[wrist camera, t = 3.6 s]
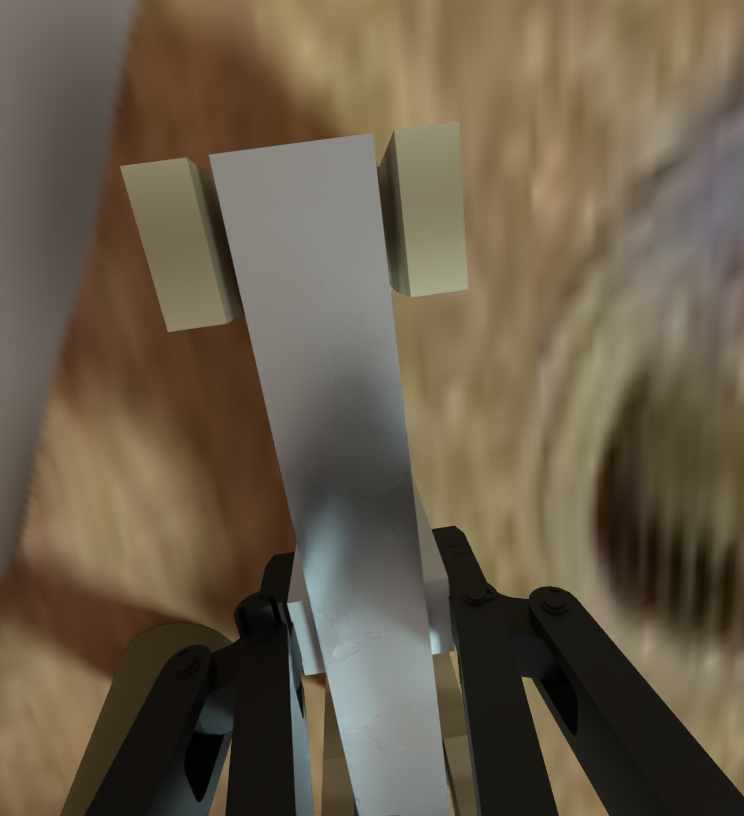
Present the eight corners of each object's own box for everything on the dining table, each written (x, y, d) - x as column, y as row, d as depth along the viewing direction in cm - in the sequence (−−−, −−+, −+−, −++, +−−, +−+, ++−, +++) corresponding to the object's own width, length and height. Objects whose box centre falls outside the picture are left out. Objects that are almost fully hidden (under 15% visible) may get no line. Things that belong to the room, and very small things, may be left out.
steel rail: (439, 787, 18) (458, 883, 15) (371, 799, 18) (377, 897, 15) (363, 168, 11) (372, 133, 8) (243, 185, 10) (208, 154, 8)
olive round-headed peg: (100, 641, 21) (-143, 1019, 10) (218, 609, 21) (94, 959, 10) (152, 723, 23) (-8, 1111, 12) (260, 694, 23) (192, 1061, 12)
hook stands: (447, 676, 23) (500, 875, 16) (335, 694, 23) (333, 905, 15) (399, 193, 15) (458, 121, 8) (229, 216, 15) (120, 166, 8)
